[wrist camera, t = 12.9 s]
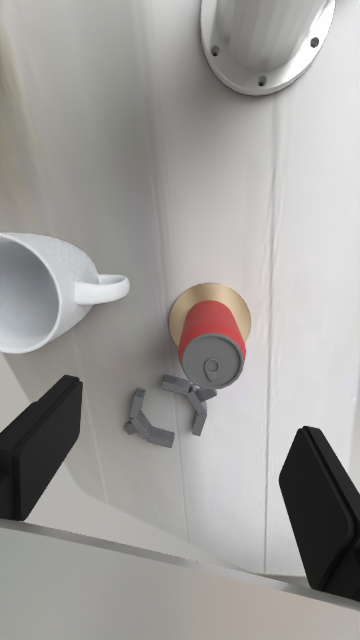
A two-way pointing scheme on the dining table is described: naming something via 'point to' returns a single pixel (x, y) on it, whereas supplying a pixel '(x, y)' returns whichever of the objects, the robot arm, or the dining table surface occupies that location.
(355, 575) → the robot arm
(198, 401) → the collar
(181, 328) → the disc
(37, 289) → the mug
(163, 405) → the dining table surface
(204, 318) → the beer can
